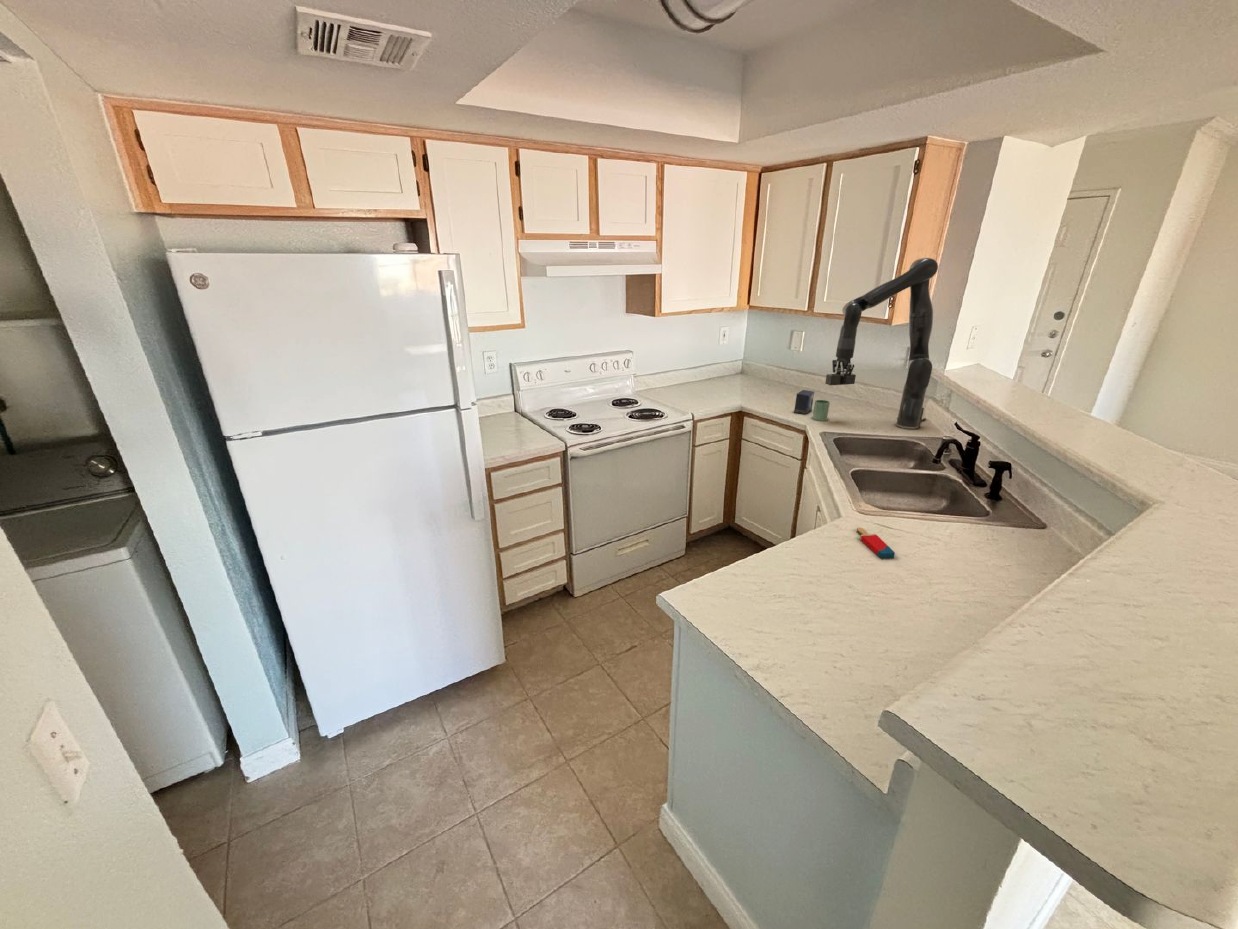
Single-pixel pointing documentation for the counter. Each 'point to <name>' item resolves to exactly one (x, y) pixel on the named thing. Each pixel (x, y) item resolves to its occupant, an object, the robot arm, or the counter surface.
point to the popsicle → (876, 544)
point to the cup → (821, 410)
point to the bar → (839, 379)
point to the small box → (804, 402)
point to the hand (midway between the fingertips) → (839, 383)
